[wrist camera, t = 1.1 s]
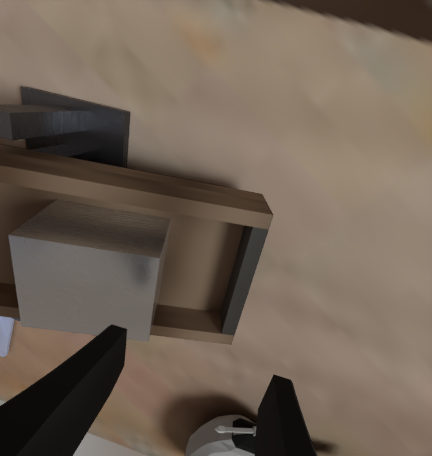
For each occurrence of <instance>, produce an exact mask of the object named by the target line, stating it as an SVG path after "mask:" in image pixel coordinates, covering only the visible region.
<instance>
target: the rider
mask: <svg viewBox="0 0 432 456" xmlns="http://www.w3.org/2000/svg"><path fill="white" fill-rule="evenodd" d="M170 222H171V219H168V218H162V217H157V216H151V215H145V214H139V213H133V212H128V211H122V210H116V209H110V208H104V207H99V206H93V205H87V204H81V203H75V202H70V201H64V200H58V199H57V200H56V201H54V202H53V203H52V204H50V205H49V206H48V207H46V208H45V209H43V210H42V211H41V212H39V213H38V214H37V215H35V216H34V217H32V218H31V219H30V220H28V221H27V222H26V223H24V224H23V225H21V226H20V227H19V228H17V229H16V230H15V231H13V232H12V233H10V234H9V235H8V236H9V243H10V250H11V257H12V264H13V271H14V278H15V285H16V292H17V299H18V306H19V313H20V320H21V326H24V327H33V328H41V329H49V330H58V331H66V332H74V333H83V334H91V335H99V334H100V333H101V332H102V331H104V330H105V329H106V328H107V327H108V326H110V325H112V324H113V325H116V326H119V327H122V328H126V329H127V338H126V339H133V340H141V341H149V337H150V333H151V328H152V324H153V320H154V316H155V311H156V307H157V303H158V298H159V294H160V290H161V283H162V276H163V270H164V263H165V256H166V249H167V242H168V236H169V229H170Z"/></svg>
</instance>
